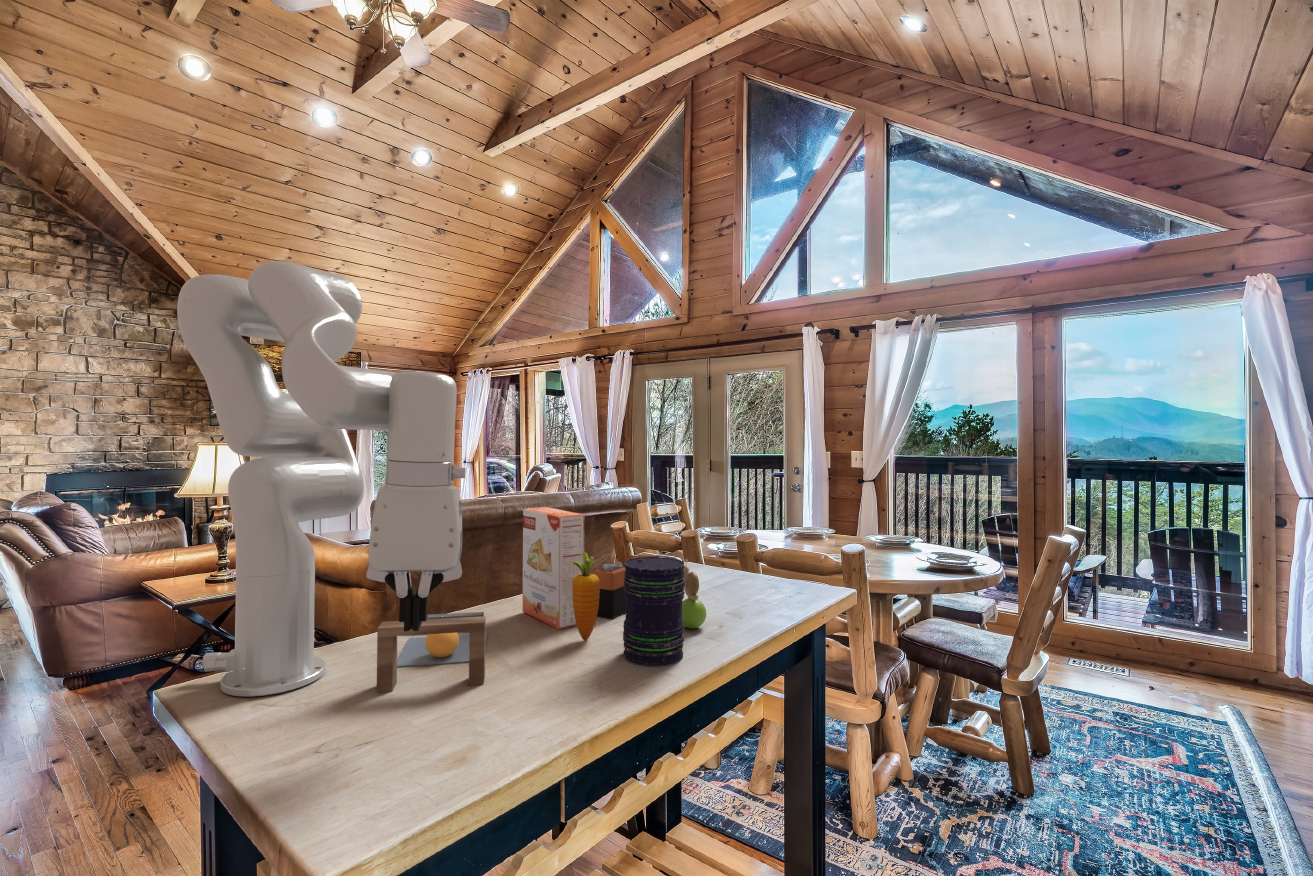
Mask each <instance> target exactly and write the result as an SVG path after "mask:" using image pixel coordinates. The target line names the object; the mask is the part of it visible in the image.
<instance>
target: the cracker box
mask: <svg viewBox="0 0 1313 876" xmlns="http://www.w3.org/2000/svg"><path fill="white" fill-rule="evenodd" d="M584 552H585V514H583V513H578V512H573V511H568V510H563V509H559V508H554V507H548V506H542V507H540V506H539V507H526V508H523V509H522V612H523V613H525V614H527V615H529V616H531V617H533V618H535V619H537V620H539V621H541V622H543V623H545V624H547V625H549V626H551V627H553V628H555V629H556V630H562V629H566V628H570V627H575V626H577V625H576V620H575V615H574V608H573V594H572V581H573V578H574V577H575V576H576V575H579V574H582V572H581V570H580V569H579V567H578V566H577V565H575V564H573V561H578V562H580V564H584V565H585V563H584V560H583V556H582V553H584Z"/></svg>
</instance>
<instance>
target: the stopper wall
mask: <svg viewBox="0 0 1313 876" xmlns="http://www.w3.org/2000/svg"><path fill="white" fill-rule="evenodd" d="M442 616H443V617H442ZM483 616H485V612H484V611H475V612H473V611H472V612H454V613H439V614H438V613H435V614H433V613H432V614H427V619H444V618H463V617H483Z"/></svg>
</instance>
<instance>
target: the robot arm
mask: <svg viewBox="0 0 1313 876" xmlns="http://www.w3.org/2000/svg"><path fill="white" fill-rule="evenodd" d="M179 291H180V292H179V294H178V297H177V307H176V308H177V311H176V313H177V323H178V328H179V332H180V335H181V338H182V340H183V342H184V344H185V347H186V348H187V351H188V352H189V354H190V355H191V358H192V359H193V360H194V362H195V363H196V365H197V367H198V368H199V370H200V372H201V374H202V376H203V378H204V381H205V383H206V386H207V389H208V392H209V396H210V399H211V402H212V405H213V409H214V411H215V414H216V418H217V421H218V425H219V427H220V428H219V429H220V430H221V433H222V436H223V439H224V441H225V443H226V445H227V446H228V448H229V449H230V450H231V452H233V453H235V454H237V455H240V456H244V457H253V458H254V457H255V459H252V460H248V461H246V462H244V463H242V464H240V465H239V466H238V467H237V468H235V470H234V471H233V472H232V474H231V475H230V477H229V481H228V484H227V496H228V501H229V507H230V511H231V516H232V522H233V528H234V529H233V530H234V536H235V537H234V539H235V607H234V608H235V610H234V611H235V614H234V615H235V616H234V618H235V620H234V622H235V623H234V625H235V626H234V649H233V648H232V649H231V650H230V651H229V652H220V651H219V652H206V653H205V654H203V658H202V663H201V664H202V667H203V671H204V672H205V673H207V672H216V671H223V673H225V674H224V675H223V676H222V678H220V683H219V684H220V690H221V692H223V693H224V694H226V695H229V696H234V697H243V698H244V697H247V698H248V697H261V696H262V697H264V696H270V695H275V694H281V693H285V692H289V691H293V690H296V689H300V688H302V687H304V686H308V685H309V684H311V683H313V682H315V681H317V680H318V679H320V678H321V677H322V676H323V675H324V674H325V673H326V670H327V669H326V662H325V661H326V660H324V659H322V658H321V657H318V656H315V655H314V654H315V652H314V651H315V648H314V647H315V644H314V643H315V594H316V593H315V590H316V588H315V582H316V581H315V580H316V557H315V556H316V554H315V549H314V546H313V544H312V542H311V541H310V539H309V538H308V536H307V535H306V534H305V532H304V531H303V529H302V528H301V526H300V524H299V523H302V522H306V521H315V520H324V519H330V518H333V519H334V518H339V517H343V516H347V515H349V514H351V513H353V512H355V511H356V510H357V509H358V508H359V507H360V506H361V503H362V502H363V498H364V494H365V484H364V478H363V473H362V470H361V467H360V464H359V461H358V459H357V457H356V456H357V455H356V454H355V450H354V448H353V445H352V443H351V440H350V437H349V435H348V434H349V433H348V431H347V430H349V431H350V430H356V431H357V430H358V431H360V430H361V431H362V430H363V431H365V430H367V431H371V430H372V431H381V432H387V435H386V436H387V437H386V439H387V440H386V442H387V443H386V460H385V461H386V462H385V482H384V484H382V485H380V486H379V488H378V491H377V495H376V498H375V503H374V507H373V511H372V512H373V513H372V518H371V519H372V521H371V524H370V525H371V526H370V534H369V535H370V536H369V543H368V555H367V557H368V568H367V571H366V574H365V575H366V576H365V577H366V578H367V580H372V581H375V582H380V583H386V584H387V586H389V587H390V588H391V589H392V590H393V591H394V592H395V593H396V596H397V597H398V598H399V614H398V621H399V622H404V631H409V630H411V628H412V630H413V631H418V630H419V628H420V626H421V624H422V622H426V620H427V615H429V614H428V613H429V612H428V611H429V609H428V608H429V595H430V594H431V593H432V592H433V591H434V590H435V589H436V588H437V587H438V586H439V585H440V584H442V583H444V582H451V581H454V580H458V579H460V578H461V577H462V574H463V568H462V563H461V558H462V551H463V510H462V498H461V492H460V487H459V486H455V485H453V483H454V482H455V481H456V480H460V479H465V478H466V469H467V468H466V467H460V466H457V464H455V460H454V459H455V458H454V457H455V456H454V455H455V439H456V437H455V436H456V419H457V418H456V416H457V415H456V413H457V398H458V397H457V394H458V393H457V383H456V381H455V380H454V378H452V377H451V376H449V375H446V374H443V373H436V372H427V371H426V372H425V371H412V370H411V371H410V370H409V371H401V372H394V371H385V370H380V369H372V368H366V367H365V368H364V367H356V366H347V365H340V364H338V363H336V362H337V361H338V360H340V359H342V358H343V357H345V356H346V355H347V354H348V353H349V352H350V351H351V349H352V348H353V347H354V345H355V343H356V340H357V335H358V334H357V333H358V331H357V326H356V325H357V323H358V322H359V321H360V318H361V314H362V311H363V300H362V297H361V294H360V292H359V290H358V289H357V286H356V285H354V283H353V282H352V281H351V280H350V279H348V278H346V277H344V276H342V275H339V274H337V273H332V272H329V271H325V270H321V269H318V268H314V267H310V266H307V265H303V264H299V263H296V262H290V261H284V260H273V261H267V262H263V263H262V264H260V265H258V266H257V267H255V268H254V270H253V271H252V272H251V274H250V275H249V277H248V279H246V278H241V277H237V276H232V275H227V274H226V275H224V274H212V273H211V274H201V275H196V276H194V277H191V278H188V280H186V281H185V283H184V284H183V285H182V287H181V288H180V290H179ZM243 337H249V338H257V339H261V340H262V339H264V340H269V341H274V342H275V341H276V342H282V343H283V342H284V343H285V345H284V348H283V351H282V356H281V375H282V381H283V383H284V387H285V389H286V390H287V392H288V394H287V393H285V392H284V391H282V390H281V389H280V387H279V385H278V383H277V381H276V377H275V375H274V374H275V373H274V372H273V369H272V367H271V365H270V364H269V362H268V361H267V360H266V359H265V358H264V356H263V354H261V353H260V352H259V351H258V350H257V349H255V347H253V346H252V345H251V344H249V343H248V342H247V341H246V340H244V338H243ZM414 572H415V573H421V577H420V580H419V587H418V588H417V590H416V591H414V587H412V579H411V577H412V576H411V573H414ZM313 650H314V651H313ZM243 668H245V669H243ZM230 671H233V672H230ZM226 672H229V673H226Z"/></svg>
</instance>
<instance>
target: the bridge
mask: <svg viewBox="0 0 1313 876" xmlns="http://www.w3.org/2000/svg"><path fill="white" fill-rule="evenodd" d="M486 620H487V619H486V616H485V615H484V616H483V617H463V618H444V619H427V620H426V622H422V624H421V626H420V628H419V630H418V631H413V630H412V628H411V630H409V631H404V622H399V620H391V621H387V620H386V621H381V623H380V624H379V625H378V627H377V629H376V631H377V633H376V634H377V638H376V639H377V640H376V642H377V643H376V693H384V692H385V693H386V692H393V691H394V689H395V687H396V685H397V682H398V667H397V660H398V637H400V636H401V637H403V636H420V635H422V636H423V635H428V634H441V633H458V634H460V633H469V634H470V638H469V662H468V686H478V685H479V686H480V685H484V684H485V678H486V649H485V634H486V626H487V625H486Z"/></svg>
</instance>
